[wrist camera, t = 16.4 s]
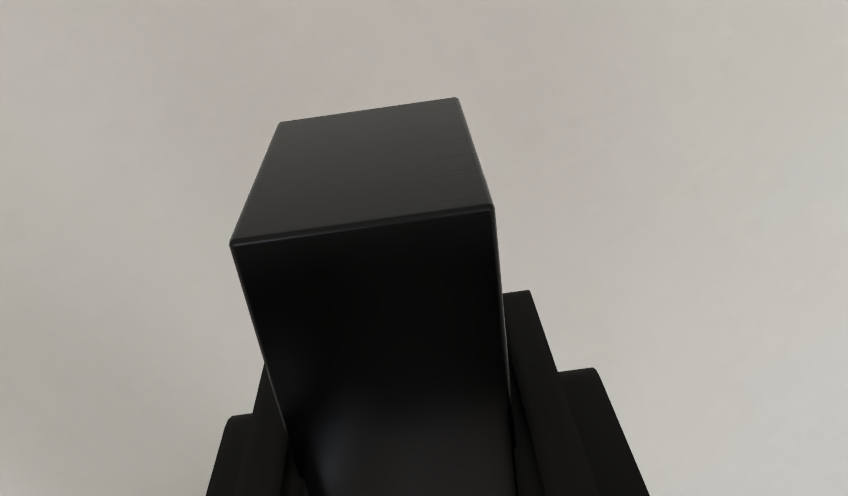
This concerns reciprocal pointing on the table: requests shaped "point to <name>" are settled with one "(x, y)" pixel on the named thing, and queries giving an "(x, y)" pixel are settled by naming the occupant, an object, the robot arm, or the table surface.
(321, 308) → the table knife
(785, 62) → the table surface
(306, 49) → the table surface
